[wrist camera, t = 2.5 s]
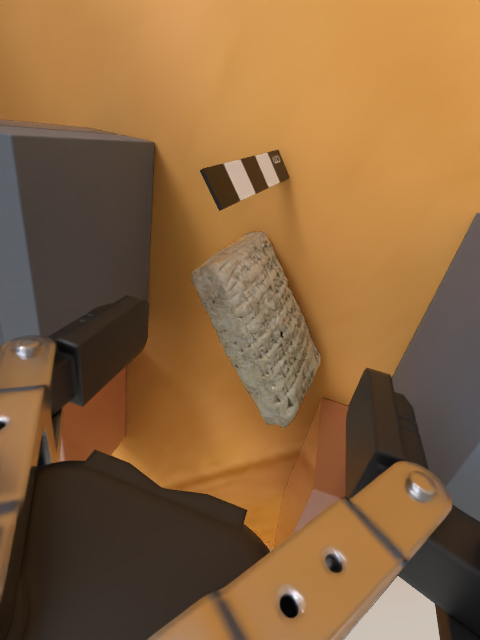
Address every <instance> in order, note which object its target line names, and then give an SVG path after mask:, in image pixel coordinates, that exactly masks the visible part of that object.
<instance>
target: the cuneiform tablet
mask: <svg viewBox="0 0 480 640" xmlns="http://www.w3.org/2000/svg"><path fill="white" fill-rule="evenodd" d="M200 172H201V174H202V176H203V178H204V180H205V182H206V184H207V186H208V189H209V191H210V193H211V195H212V197H213V199H214V201H215V203H216V205H217V207H218V209H219V211H220V210H222V209H225V208H227V207H229V206H231V205H233V204H235V203H237V202H239V201H242V200H244V199H246V198H248V197H250V196H252V195H254V194H257V193H259V192H261V191H263V190H265V189H267V188H269V187H271V186H274V185H276V184H278V183H280V182H282V181H284V180H286V179H288V178H289V175H288V173H287V170H286V168H285V165H284V163H283V160H282V158H281V156H280V153H279V151H278V150H276V151H272V152H268V153H264V154H260V155H256V156H252V157H248V158H244V159H239V160H235V161H231V162H227V163H223V164H219V165H215V166H211V167H207V168H203V169H202V170H200ZM191 281H192V283H193V285H194V286H195V287H196V288H197V293H198V295H199V297H200V298H201V302H202V305H203V307H204V308H205V310H206V313H207V314H208V315H209V316H210V320H211V323H212V326H213V328H214V329H215V330H216V331H217V335H218V338H219V341H220V343H221V344H222V345H223V349H224V351H225V354H226V355H227V357H228V358H230V362H231V364H232V366H233V367H234V369H235V371H236V373H237V374H238V376H239V378H240V380H241V382H242V383H243V385H244V387H245V389H246V390H247V391H248V393H249V394H250V396H251V397H252V399H253V401H254V402H255V404H256V406H257V408H258V410H259V412H260V414H261V416H262V418H263V419H264V421H265V422H266V423H267V424H270V425H274V424H277V425H279V426H280V427H287V426H288V425H289V424H290V423H291V422H292V421H293V419H294V418H295V417H296V415H297V413H298V409H299V406H300V405H301V403H302V401H303V399H304V396H305V394H306V393H307V391H308V389H309V388H310V386H311V384H312V382H313V379H314V376H315V374H316V372H317V370H318V368H319V367H320V362H321V356H320V354H319V352H318V350H317V348H316V347H315V345H314V343H313V342H312V340H311V336H310V334H309V330H308V326H307V324H306V323H305V318H304V316H303V315H302V313H301V310H300V307H299V305H298V303H297V302H296V300H295V299H294V296H293V292H292V291H291V289H290V288H288V279H287V277H286V276H285V274H284V271H283V269H282V266H281V264H280V263H279V261H278V259H277V258H276V254H275V251H274V249H273V246H272V245H271V242H270V240H269V239H268V238H267V235H266V234H265V233H264V232H251V233H248V234H246V235H244V236H243V237H241V238H240V239H238V240H236V241H235V242H233V243H232V244H230V245H229V246H227V247H225V248H223V249H221V250H219V251H218V252H216V253H214V254H213V255H212V256H211V257H209V258H208V259H207V260H206V261H205V262H204V263H203V264H201V265H200V266H199V267H198V268H196V269H195V270H193V271H192V274H191Z"/></svg>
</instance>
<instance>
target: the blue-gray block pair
mask: <svg viewBox="0 0 480 640" xmlns="http://www.w3.org/2000/svg"><path fill="white" fill-rule="evenodd" d="M153 167H154V142H151V141H147V140H142V139H138V138H133V137H128V136H124V135H117V134H114V133H110V132H105V131H101V130H96V129H91V128H86V127H76V126H66V125H55V124H45V123H34V122H24V121H13V120H3V119H0V346H3V345H4V344H5V343H6V342H8V341H10V340H12V339H15V338H18V337H22V336H27V335H41V336H46V337H48V336H50V335H52V334H53V333H55V332H56V331H58V330H60V329H61V328H63V327H65V326H66V325H68V324H70V323H71V322H73V321H75V320H78V318H80V317H81V316H83V315H86V313H88V312H90V311H91V310H93V309H95V308H96V307H99V306H102V305H106V304H110V303H112V304H113V303H114V302H116V301H117V300H119V299H121V298H122V297H124V296H126V295H130V296H134V297H137V298H140V299H144V300H146V301H148V284H149V260H150V237H151V214H152V190H153ZM392 383H393V388H394V392H396V393H399V394H403V395H404V396H405V398H406V399H407V400H408V402H409V403H410V404H411V406H412V407H413V410H414V414H415V418H416V423H417V425H418V429H419V431H418V433H420V437H421V441H422V445H423V449H424V453H425V457H426V461H427V464H428V468H429V471H431V472H432V473H433V474H435V475H436V476H437V477H438V478H439V479H440V480H441V481H442V482H443V484H444V485H445V486H446V488H447V490H448V491H449V493H450V496H451V499H452V504H453V505H455V506H456V507H457V508H459V509H460V510H462V511H463V512H465V513H466V514H468V515H469V516H471V517H473V518H474V519H476V520H478V521H479V522H480V213H477V214H476V216H475V218H474V220H473V222H472V224H471V226H470V228H469V230H468V232H467V233H466V235H465V237H464V239H463V241H462V243H461V245H460V247H459V249H458V251H457V253H456V255H455V257H454V259H453V261H452V263H451V264H450V266H449V268H448V270H447V272H446V274H445V276H444V278H443V280H442V282H441V284H440V286H439V288H438V290H437V292H436V294H435V296H434V297H433V299H432V301H431V303H430V305H429V307H428V309H427V311H426V313H425V315H424V317H423V319H422V321H421V323H420V325H419V327H418V328H417V330H416V332H415V334H414V336H413V338H412V340H411V342H410V344H409V346H408V348H407V350H406V352H405V354H404V356H403V358H402V359H401V361H400V363H399V365H398V367H397V369H396V371H395V373H394V375H393V377H392Z"/></svg>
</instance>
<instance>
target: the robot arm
mask: <svg viewBox="0 0 480 640" xmlns="http://www.w3.org/2000/svg"><path fill="white" fill-rule="evenodd" d="M148 317H149V304H148V301H146V300H144V299H140V298H137V297H134V296H130V295H126V296H124V297H122V298H121V299H119V300H117V301H116V302H114V303H113V304H112V303H110V304H106V305H102V306H99V307H96V308H95V309H93V310H91V311H90V312H88V313H86V315H83V316H81V317H80V318H78V320H75V321H73V322H71V323H70V324H68V325H66V326H65V327H63V328H61V329H60V330H58V331H56V332H55V333H53V334H52V335H50V336H48V337H46V336H41V335H27V336H22V337H18V338H15V339H12V340H10V341H8V342H6V343H5V344H4V345H3V346H0V640H344V639H345V638H346V637H347V636H348V634H349V633H350V632H351V631H352V630H353V628H354V627H355V626H356V625H357V624H358V622H359V621H360V620H361V619H362V618H363V616H364V615H365V614H366V613H367V612H368V610H369V609H370V608H371V607H372V606H373V605H374V603H375V602H376V601H377V600H378V599H379V597H380V596H381V595H382V594H383V593H384V591H385V590H386V589H387V588H388V587H389V585H390V584H391V583H392V582H393V581H394V579H395V578H396V577H397V576H399V577H401V578H402V579H403V580H405V581H406V582H407V583H409V584H410V585H411V586H412V587H414V588H415V589H417V590H418V591H419V592H420V593H422V594H423V595H424V596H426V597H427V598H428V599H430V600H431V601H432V602H434V603H435V607H436V614H437V621H438V628H439V635H440V640H480V522H479V521H478V520H476V519H474V518H473V517H471V516H469V515H468V514H466V513H465V512H463V511H462V510H460V509H459V508H457V507H456V506H455V505H453V504H452V499H451V496H450V493H449V491H448V490H447V488H446V486H445V485H444V484H443V482H442V481H441V480H440V479H439V478H438V477H437V476H436V475H435V474H433V473H432V472H431V471H429V468H428V464H427V461H426V457H425V453H424V449H423V445H422V441H421V437H420V433H418V431H419V429H418V425H417V423H416V418H415V414H414V410H413V407H412V406H411V404H410V403H409V402H408V400H407V399H406V398H405V396H404V395H403V394H399V393H396V392H394V388H393V383H392V378H391V375H389V374H386V373H383V372H379V371H376V370H373V369H369V368H366V369H365V371H364V373H363V375H362V377H361V379H360V381H359V384H358V386H357V388H356V390H355V393H354V395H353V397H352V399H351V402H350V404H349V407H348V411H347V415H346V461H345V496H343V497H341V498H339V499H338V500H336V501H335V502H334V503H332V504H331V505H330V506H329V507H327V508H326V509H325V510H323V511H322V512H321V513H320V514H318V515H317V516H316V517H314V518H313V519H312V520H311V521H309V522H308V523H307V524H305V525H304V526H303V527H302V528H300V529H299V530H298V531H296V532H295V533H294V534H293V535H291V536H290V537H289V538H287V539H286V540H285V541H284V542H282V543H281V544H280V545H278V546H277V547H276V548H275V549H273V550H272V551H271V552H270V550H269V549H268V547H267V546H266V545H265V544H264V543H263V541H262V540H261V539H260V538H259V537H258V536H257V535H256V534H255V533H254V532H253V531H252V530H251V529H249V528H248V527H247V526H246V525H244V524H243V523H244V520H245V516H246V513H247V510H246V509H243V508H241V507H238V506H236V505H233V504H231V503H228V502H226V501H223V500H221V499H218V498H216V497H213V496H210V495H208V494H202V493H194V492H187V491H179V490H171V489H165V488H162V487H160V486H159V485H157V484H156V483H155V482H153V481H152V480H151V479H150V478H148V477H147V476H146V475H144V474H143V473H142V472H140V471H139V470H138V469H137V468H135V467H134V466H133V465H131V464H130V463H128V462H125V461H123V460H120V459H118V458H115V457H113V456H110V455H108V454H105V453H103V452H100V451H98V450H94V451H93V452H92V453H91V454H90V456H89V457H88V458H87V459H86V460H85V461H82V460H70V461H60V462H59V459H60V448H61V437H62V427H63V416H64V410H63V407H64V406H65V405H66V404H67V403H68V402H71V403H73V404H76V405H79V406H81V407H83V406H84V405H85V404H86V403H88V402H89V401H90V400H91V399H92V398H93V397H94V396H95V395H96V394H97V393H98V392H99V391H100V390H101V389H102V388H103V387H104V386H105V385H106V384H108V383H109V382H110V381H111V380H112V379H113V378H114V377H115V376H116V375H117V374H118V373H119V372H120V371H121V370H122V369H123V368H124V367H125V366H127V365H128V364H129V363H130V362H131V361H132V360H133V359H134V358H135V357H136V356H137V355H138V354H139V353H140V352H141V351H142V350H143V348H144V347H145V344H146V342H147V337H148Z"/></svg>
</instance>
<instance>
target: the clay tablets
mask: <svg viewBox="0 0 480 640" xmlns="http://www.w3.org/2000/svg"><path fill="white" fill-rule="evenodd" d="M348 407H349V406H346V405H343V404H339V403H336V402H333V401H330V400H327V399H324V398H322V399H321V401H320V404H319V406H318V409H317V411H316V414H315V416H314V419H313V421H312V424H311V426H310V429H309V431H308V434H307V436H306V439H305V441H304V444H303V446H302V449H301V451H300V454H299V456H298V459H297V462H296V464H295V467H294V469H293V472H292V474H291V477H290V479H289V482H288V484H287V487H286V489H285V492H284V494H283V498H282V504H281V509H280V515H279V521H278V526H277V532H276V537H275V543H274V549H275V548H276V547H277V546H278V545H280V544H281V543H282V542H284V541H285V540H286V539H287V538H289V537H290V536H291V535H293V534H294V533H295V532H296V531H298V530H299V529H300V528H302V527H303V526H304V525H305V524H307V523H308V522H309V521H311V520H312V519H313V518H314V517H316V516H317V515H318V514H320V513H321V512H322V511H323V510H325V509H326V508H327V507H329V506H330V505H331V504H332V503H334V502H335V501H336V500H338V499H339V498H341V497H343V496H345V461H346V415H347V411H348ZM63 410H64V416H63V427H62V437H61V448H60V459H59V462H60V461H70V460H82V461H85V460H86V459H87V458H88V457H89V456H90V454H91V453H92V452H93V451H94V450H98V451H100V452H103V453H105V454H108V455H110V456H111V455H112V453H113V452H114V451H115V450H116V448H117V447H118V446H119V444H120V443H121V442H122V440H123V439H124V438H125V436H126V366H125V367H124V368H123V369H122V370H121V371H120V372H119V373H118V374H117V375H116V376H115V377H114V378H113V379H112V380H111V381H110V382H109V383H108V384H106V385H105V386H104V387H103V388H102V389H101V390H100V391H99V392H98V393H97V394H96V395H95V396H94V397H93V398H92V399H91V400H90V401H89V402H88V403H86V404H85V405H84V406H83V407H81V406H79V405H76V404H73V403H71V402H68V403H67V404H66V405H65V406H64V407H63Z"/></svg>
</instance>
